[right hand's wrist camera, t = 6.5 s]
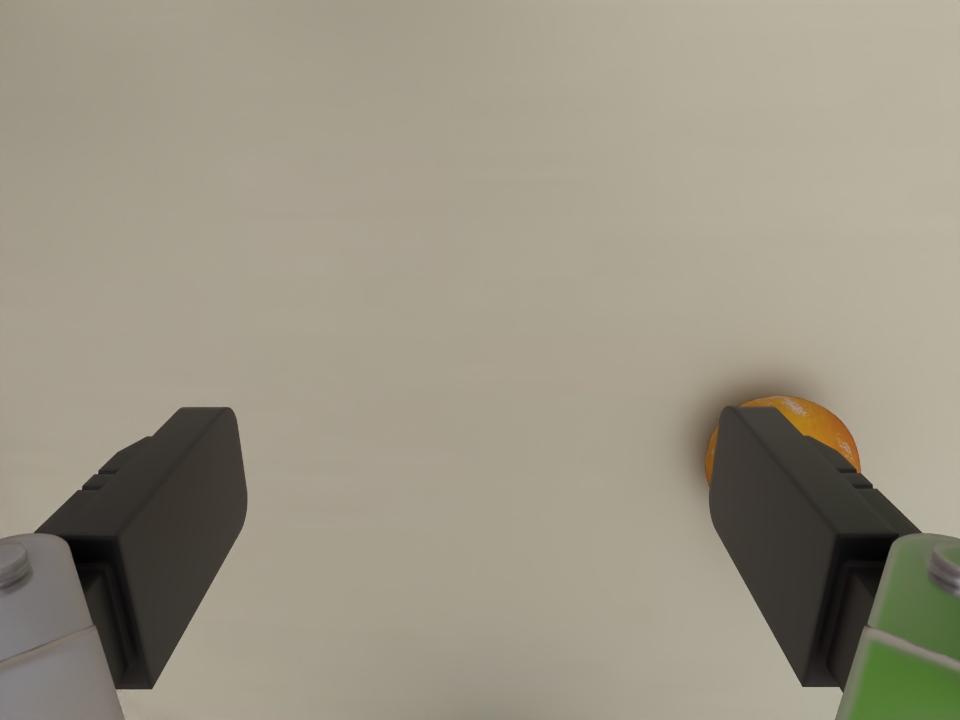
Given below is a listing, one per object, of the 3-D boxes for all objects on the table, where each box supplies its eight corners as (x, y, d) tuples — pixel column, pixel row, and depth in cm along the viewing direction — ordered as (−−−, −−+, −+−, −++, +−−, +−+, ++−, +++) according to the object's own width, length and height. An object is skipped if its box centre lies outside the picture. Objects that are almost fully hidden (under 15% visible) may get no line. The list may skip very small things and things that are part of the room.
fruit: (736, 370, 38) (809, 497, 34) (843, 371, 41) (922, 487, 37) (661, 448, 44) (714, 565, 40) (759, 443, 48) (818, 551, 43)
